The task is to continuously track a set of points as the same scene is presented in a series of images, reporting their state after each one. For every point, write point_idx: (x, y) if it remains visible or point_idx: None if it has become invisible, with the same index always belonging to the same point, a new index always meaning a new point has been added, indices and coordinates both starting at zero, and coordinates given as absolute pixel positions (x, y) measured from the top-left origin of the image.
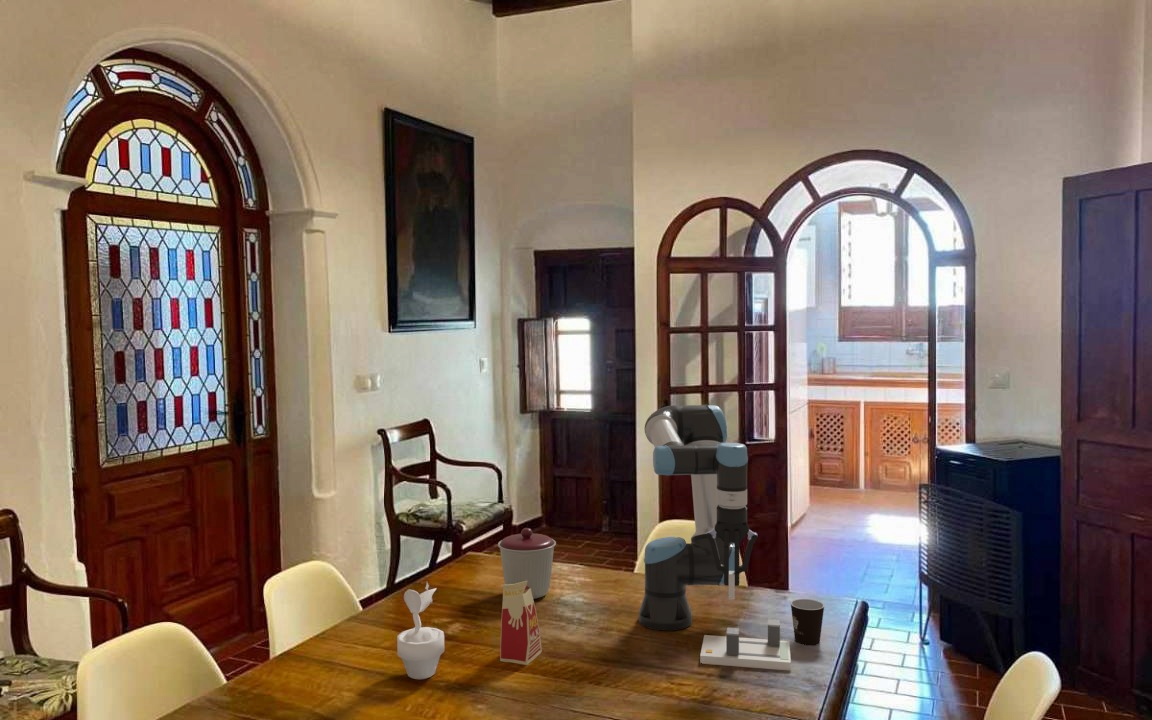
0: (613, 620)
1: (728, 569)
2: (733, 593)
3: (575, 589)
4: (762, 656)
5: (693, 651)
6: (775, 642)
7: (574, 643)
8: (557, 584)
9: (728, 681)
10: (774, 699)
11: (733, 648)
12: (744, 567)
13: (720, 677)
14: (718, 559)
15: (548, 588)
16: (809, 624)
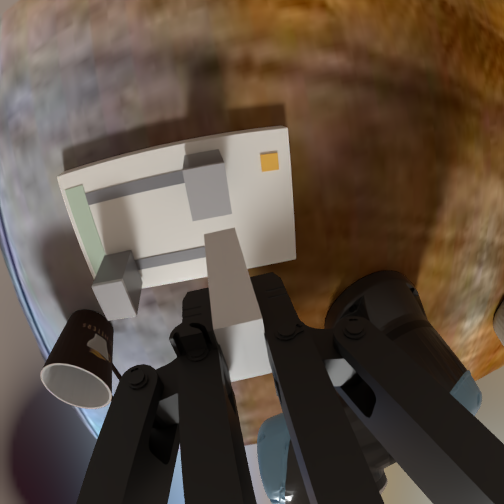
0: (444, 279)
1: (273, 348)
2: (211, 249)
3: (464, 346)
4: (125, 182)
5: (308, 192)
6: (112, 258)
7: (492, 168)
8: (476, 346)
9: (191, 43)
10: (74, 6)
11: (199, 156)
12: (135, 394)
13: (215, 59)
14: (396, 389)
15: (497, 320)
16: (64, 339)
